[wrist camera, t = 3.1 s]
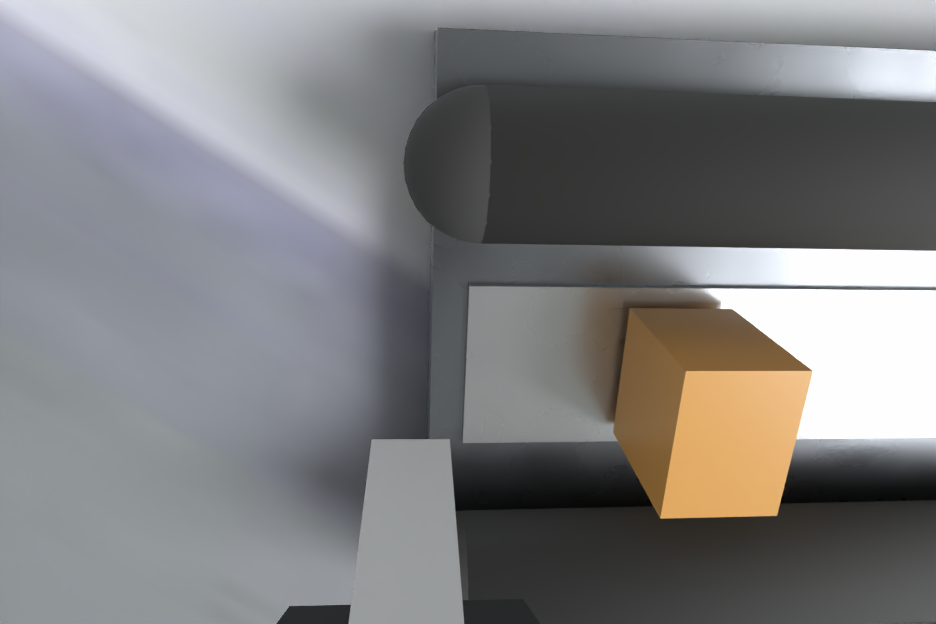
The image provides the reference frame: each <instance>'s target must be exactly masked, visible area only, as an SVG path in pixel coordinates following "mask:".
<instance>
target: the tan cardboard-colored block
mask: <svg viewBox="0 0 936 624" xmlns="http://www.w3.org/2000/svg"><path fill="white" fill-rule="evenodd" d="M812 374H813V370H811V369H810V368H809V367H808V366H806V365H805V364H804V363H802V362H801V361H800V360H798V359H797V358H796V357H794V356H793V355H792V354H791V353H789V352H788V351H787V350H785V349H784V348H783V347H781V346H780V345H779V344H778V343H776V342H775V341H774V340H772V339H771V338H770V337H768V336H767V335H766V334H764V333H763V332H762V331H761V330H759V329H758V328H757V327H755V326H754V325H753V324H751V323H750V322H749V321H748V320H746V319H745V318H744V317H742V316H741V315H740V314H738V313H737V312H736V311H734V310H733V309H675V308H630V309H629V317H628V324H627V332H626V339H625V346H624V354H623V361H622V369H621V376H620V383H619V391H618V398H617V406H616V413H615V420H614V428H613V434H614V435H615V437H616V439H617V441H618V443H619V444H620V446H621V448H622V450H623V452H624V454H625V455H626V457H627V459H628V461H629V463H630V464H631V466H632V468H633V470H634V472H635V474H636V475H637V477H638V479H639V481H640V483H641V484H642V486H643V488H644V490H645V492H646V494H647V495H648V497H649V499H650V501H651V503H652V504H653V506H654V508H655V510H656V512H657V514H658V515H659V517H660V519H665V518H708V517H750V516H777V514H778V510H779V506H780V502H781V498H782V494H783V490H784V486H785V482H786V478H787V474H788V470H789V466H790V462H791V458H792V454H793V450H794V446H795V442H796V438H797V434H798V430H799V426H800V422H801V418H802V414H803V410H804V406H805V402H806V398H807V394H808V390H809V386H810V382H811V378H812Z"/></svg>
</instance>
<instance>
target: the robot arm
mask: <svg viewBox="0 0 936 624" xmlns="http://www.w3.org/2000/svg"><path fill="white" fill-rule="evenodd" d="M277 624H540V623H539V621H538V620H537V618H536V617H535V616H534V614H533V613H532V611H531V610H530V609H529V607H528V606H527V604H526V603H525V602H524V600H523V599H498V600H462V589H461V576H460V563H459V551H458V538H457V525H456V512H455V500H454V487H453V474H452V462H451V449H450V439H372V441H371V449H370V457H369V465H368V473H367V481H366V489H365V497H364V505H363V513H362V521H361V529H360V537H359V545H358V553H357V561H356V569H355V576H354V584H353V592H352V600H351V605H326V606H289V608H288V609H287V610H286V612H285V613H284V614H283V616H282V617H281V618H280V620H279V621H278V622H277Z"/></svg>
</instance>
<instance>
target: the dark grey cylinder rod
mask: <svg viewBox="0 0 936 624" xmlns="http://www.w3.org/2000/svg"><path fill="white" fill-rule="evenodd" d="M404 172H405V180H406V184H407V187H408V191H409V194H410V196H411V198H412V200H413V202H414V204H415V206H416V208H417V209H418V210H419V212H420V213H421V214H422V215H423V217H424V218H425V219H426V220H427V221H428V222H429V223H430V224H431V225H433V226H434V227H435V228H436V229H437V230H439V231H441V232H442V233H444V234H446V235H448V236H450V237H452V238H455V239H458V240H461V241H464V242H472V243H482V244H543V245H605V246H667V247H728V248H790V249H852V250H914V251H936V102H925V101H899V100H873V99H848V98H822V97H796V96H770V95H745V94H719V93H693V92H667V91H642V90H616V89H590V88H564V87H539V86H513V85H487V84H484V85H469V86H466V87H462V88H458V89H455V90H453V91H451V92H449V93H447V94H445V95H443V96H441V97H439V98H438V99H437V100H436V101H434V102H433V103H432V104H431V105H429V106H428V107H427V108H426V110H425V111H424V112H423V113H422V114H421V116H420V117H419V118H418V119H417V121H416V123H415V125H414V127H413V128H412V130H411V132H410V135H409V138H408V141H407V145H406V148H405V157H404Z"/></svg>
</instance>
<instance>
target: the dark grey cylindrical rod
mask: <svg viewBox="0 0 936 624" xmlns="http://www.w3.org/2000/svg"><path fill="white" fill-rule="evenodd" d="M455 512H456V525H457V538H458V551H459V563H460V576H461V589H462V600H498V599H523V600H524V602H525V603H526V604H527V606H528V607H529V609H530V610H531V611H532V613H533V614H534V616H535V617H536V618H537V620H538V621H539V623H540V624H897V623H922V622H936V500H921V501H875V502H829V503H783V504H780V506H779V510H778V514H777V516H750V517H708V518H665V519H660V517H659V515H658V514H657V512H656V510H655V508H654V506H645V507H599V508H552V509H506V510H462V511H455Z"/></svg>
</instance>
